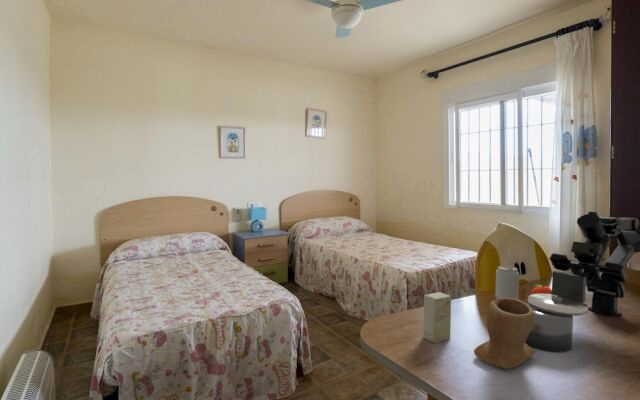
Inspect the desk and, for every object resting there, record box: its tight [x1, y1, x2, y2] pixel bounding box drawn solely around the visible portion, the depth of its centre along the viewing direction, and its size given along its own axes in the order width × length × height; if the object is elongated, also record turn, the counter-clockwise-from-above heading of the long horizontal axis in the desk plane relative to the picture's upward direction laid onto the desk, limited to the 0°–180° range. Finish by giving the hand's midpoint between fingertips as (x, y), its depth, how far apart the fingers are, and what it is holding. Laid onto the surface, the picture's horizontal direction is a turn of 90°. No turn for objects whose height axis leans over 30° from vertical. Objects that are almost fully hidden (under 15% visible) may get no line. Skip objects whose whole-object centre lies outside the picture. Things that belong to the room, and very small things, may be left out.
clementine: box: [529, 284, 552, 295], centre depth 122 cm, size 8×7×7 cm
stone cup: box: [473, 297, 535, 370], centre depth 85 cm, size 15×12×15 cm
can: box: [494, 265, 520, 300], centre depth 128 cm, size 8×8×12 cm
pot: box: [525, 302, 574, 353], centre depth 98 cm, size 13×20×8 cm, turn 31°
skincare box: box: [423, 291, 452, 344], centre depth 97 cm, size 6×4×12 cm
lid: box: [527, 270, 589, 317], centre depth 99 cm, size 14×14×8 cm
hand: (576, 289), depth 104 cm, fingers closed
